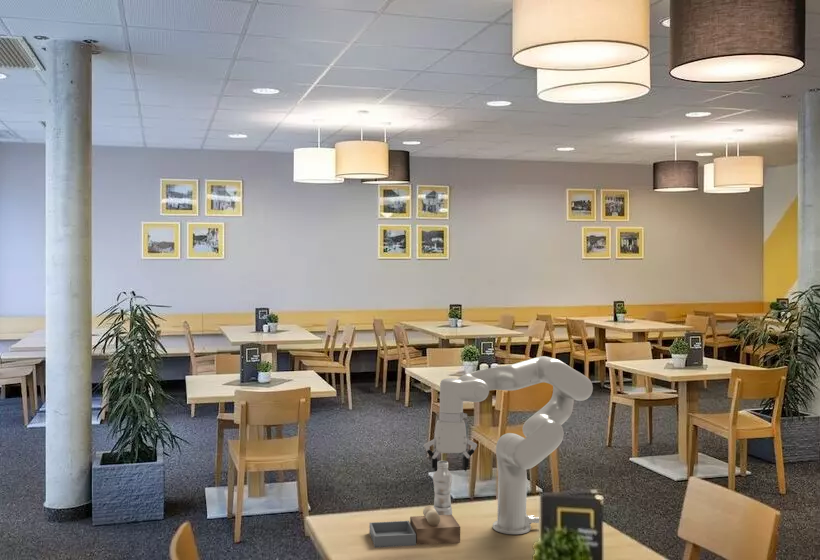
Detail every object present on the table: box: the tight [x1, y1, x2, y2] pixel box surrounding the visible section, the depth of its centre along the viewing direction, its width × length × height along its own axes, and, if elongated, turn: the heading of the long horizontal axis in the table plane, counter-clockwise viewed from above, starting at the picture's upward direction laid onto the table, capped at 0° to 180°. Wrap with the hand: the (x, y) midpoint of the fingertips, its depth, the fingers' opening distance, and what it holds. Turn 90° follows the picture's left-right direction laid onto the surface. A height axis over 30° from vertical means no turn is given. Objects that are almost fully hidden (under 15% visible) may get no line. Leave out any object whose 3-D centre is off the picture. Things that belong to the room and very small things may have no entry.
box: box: [369, 520, 417, 549], centre depth 261 cm, size 13×13×4 cm
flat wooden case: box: [409, 514, 461, 546], centre depth 264 cm, size 14×12×5 cm
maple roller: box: [422, 505, 440, 526], centre depth 263 cm, size 4×8×4 cm, turn 10°
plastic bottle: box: [432, 460, 453, 516], centre depth 280 cm, size 6×7×20 cm
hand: (450, 469), depth 264 cm, fingers open, 9 cm apart
